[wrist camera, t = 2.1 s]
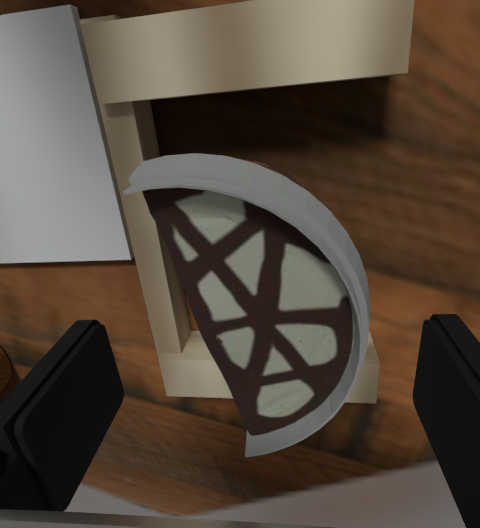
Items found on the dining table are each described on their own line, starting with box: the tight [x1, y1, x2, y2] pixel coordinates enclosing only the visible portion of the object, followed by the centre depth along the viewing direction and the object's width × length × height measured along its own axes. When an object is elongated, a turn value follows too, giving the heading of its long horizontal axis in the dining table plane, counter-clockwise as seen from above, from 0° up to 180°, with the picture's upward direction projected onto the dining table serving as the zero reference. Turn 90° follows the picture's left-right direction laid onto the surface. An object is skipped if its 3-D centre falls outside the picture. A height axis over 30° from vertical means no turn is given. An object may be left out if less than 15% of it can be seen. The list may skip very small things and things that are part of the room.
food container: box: [123, 153, 370, 458], centre depth 16 cm, size 12×6×10 cm, turn 19°
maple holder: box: [79, 0, 415, 403], centre depth 19 cm, size 13×21×3 cm, turn 5°
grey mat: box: [0, 5, 134, 263], centre depth 21 cm, size 13×13×1 cm
